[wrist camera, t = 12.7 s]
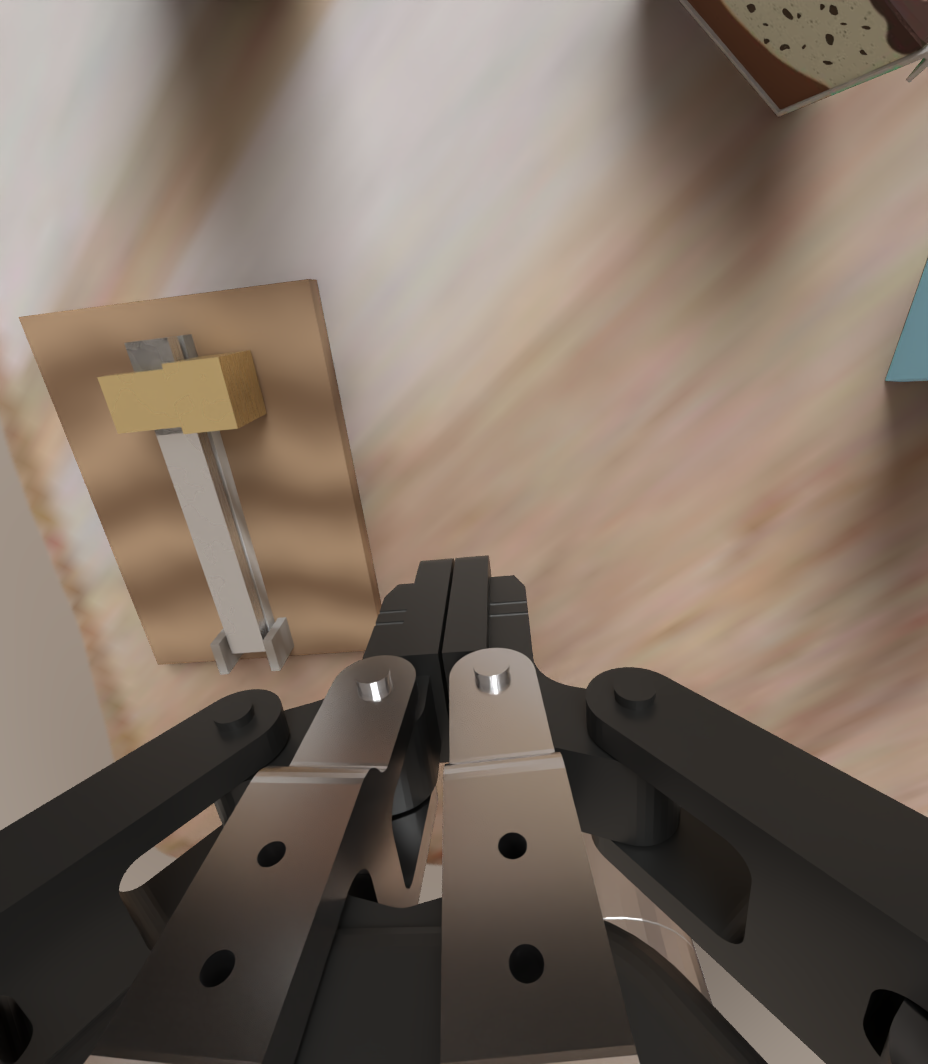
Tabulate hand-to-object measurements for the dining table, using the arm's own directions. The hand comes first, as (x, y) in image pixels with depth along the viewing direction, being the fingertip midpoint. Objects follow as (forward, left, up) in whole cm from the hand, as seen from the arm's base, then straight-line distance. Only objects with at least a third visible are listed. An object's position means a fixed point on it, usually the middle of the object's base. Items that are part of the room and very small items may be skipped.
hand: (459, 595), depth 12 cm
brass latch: (+3, +16, -21) cm, 27 cm away
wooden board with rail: (-4, +17, -23) cm, 29 cm away
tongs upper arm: (-4, +17, -20) cm, 27 cm away
